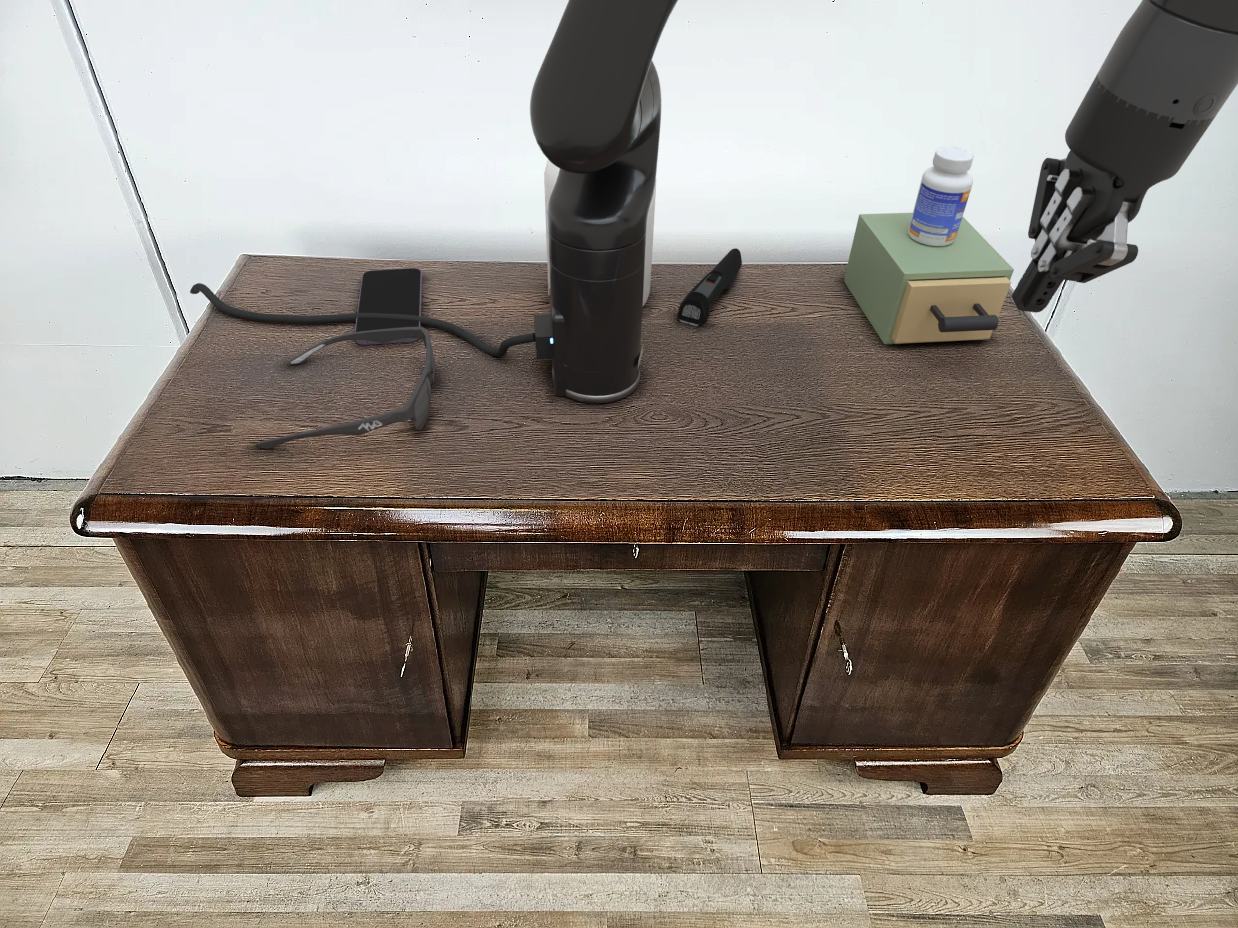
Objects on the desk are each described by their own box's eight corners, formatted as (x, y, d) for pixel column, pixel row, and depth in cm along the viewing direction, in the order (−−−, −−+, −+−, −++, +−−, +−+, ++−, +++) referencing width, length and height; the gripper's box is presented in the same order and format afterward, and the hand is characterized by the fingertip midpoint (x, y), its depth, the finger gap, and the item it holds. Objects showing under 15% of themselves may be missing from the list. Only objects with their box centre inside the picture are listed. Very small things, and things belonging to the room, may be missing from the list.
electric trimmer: (748, 273, 107) (751, 250, 105) (703, 328, 96) (706, 304, 94) (721, 266, 108) (723, 243, 106) (674, 320, 97) (676, 296, 95)
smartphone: (352, 340, 91) (362, 270, 102) (354, 348, 92) (363, 278, 103) (419, 336, 92) (422, 267, 103) (421, 344, 93) (423, 275, 104)
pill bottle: (956, 250, 93) (984, 165, 86) (907, 244, 93) (931, 160, 87) (952, 229, 97) (978, 146, 90) (905, 224, 97) (928, 141, 91)
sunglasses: (433, 451, 79) (420, 410, 75) (260, 471, 79) (239, 431, 75) (447, 353, 91) (437, 314, 87) (298, 370, 91) (281, 332, 88)
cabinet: (987, 339, 96) (1014, 269, 90) (884, 344, 94) (904, 273, 88) (936, 277, 107) (957, 211, 100) (843, 281, 105) (859, 214, 99)
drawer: (1007, 360, 91) (1030, 303, 86) (909, 365, 90) (927, 307, 85) (941, 280, 104) (959, 226, 99) (855, 283, 103) (868, 229, 98)
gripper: (1068, 37, 56) (959, 252, 69) (1145, 127, 47) (1003, 355, 60) (1171, 53, 57) (1044, 264, 70) (1266, 145, 48) (1100, 367, 61)
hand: (1025, 306), depth 65 cm, fingers closed
